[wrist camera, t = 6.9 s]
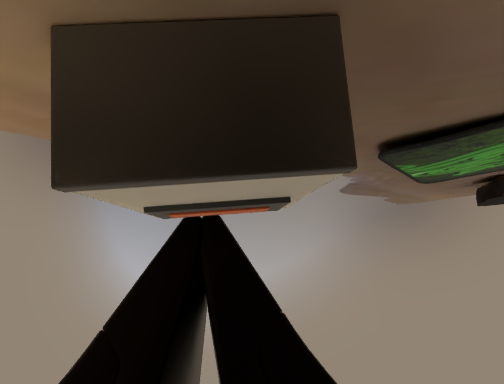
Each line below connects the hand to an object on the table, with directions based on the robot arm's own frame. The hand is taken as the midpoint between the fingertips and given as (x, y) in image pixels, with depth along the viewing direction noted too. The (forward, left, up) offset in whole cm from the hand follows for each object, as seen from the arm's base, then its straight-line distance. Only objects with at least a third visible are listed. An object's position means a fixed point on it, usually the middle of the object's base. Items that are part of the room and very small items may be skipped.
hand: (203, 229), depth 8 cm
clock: (+1, +1, -4) cm, 4 cm away
